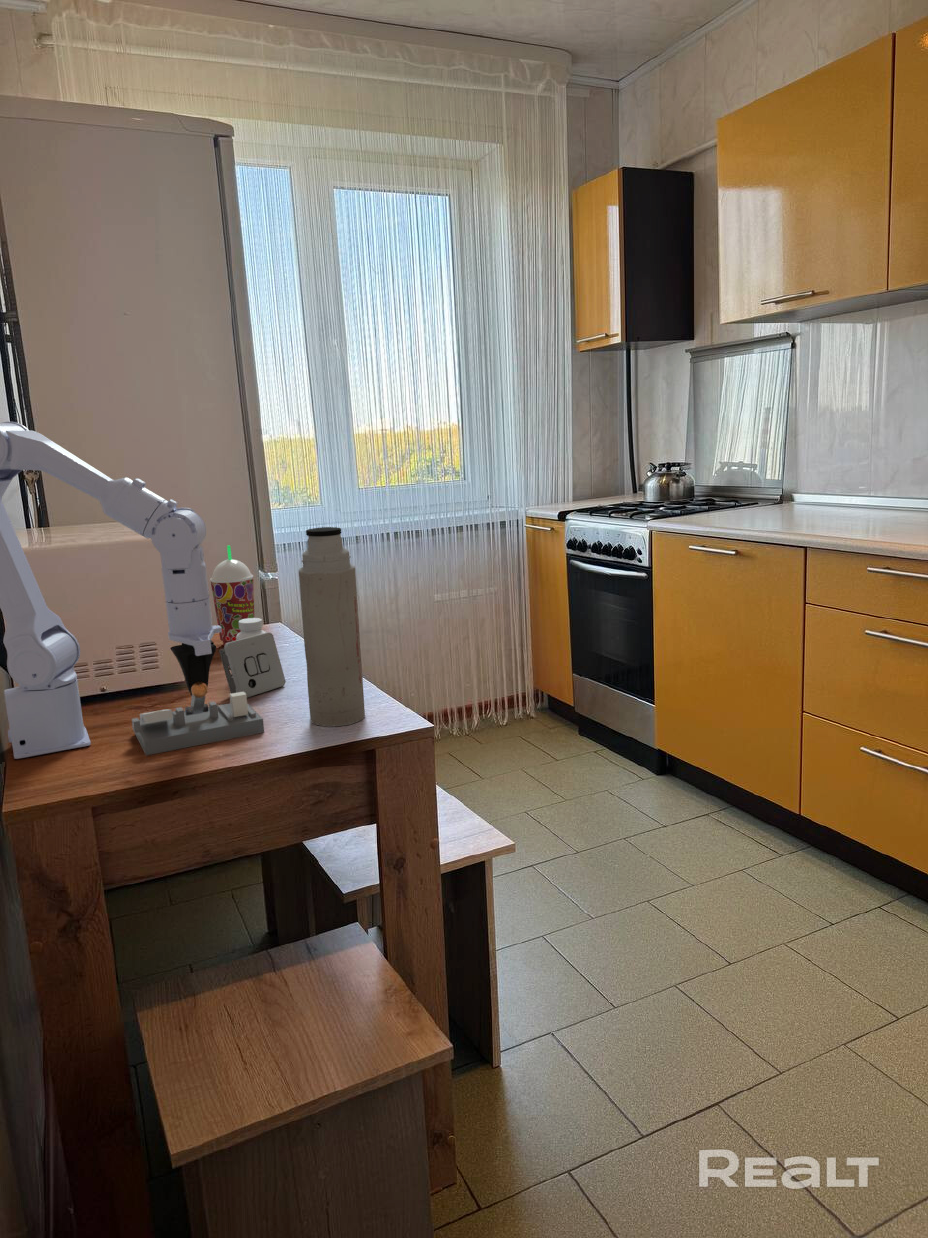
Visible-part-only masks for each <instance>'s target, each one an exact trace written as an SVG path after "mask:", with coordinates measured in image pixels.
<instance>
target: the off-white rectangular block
mask: <svg viewBox="0 0 928 1238" xmlns="http://www.w3.org/2000/svg"><path fill="white" fill-rule="evenodd" d="M229 703H230V705H231V714H232V715H233V716H234V717H237V716H243V715H248V707H247V703H248V697H246V694H245V693H244V692H238V693H232V694H231V693H229Z"/></svg>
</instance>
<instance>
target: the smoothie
mask: <svg viewBox="0 0 928 1238" xmlns="http://www.w3.org/2000/svg"><path fill="white" fill-rule="evenodd" d="M226 547H227V548H226V549H227V559H224V560H223V561H221V562H219V563H218V564H217V565H216V566H215V568H214V569H213V571H212V575H211V576H210V578H209V580H210V585H211V586H210V587H211V591H212V598H213V599H212V600H213V604H214V609H215V616H216V622H217V623H216V624H217V625H219V626H221V627H222V632H220V633H218V634H219V635H218V636H219V639H220V641H221V642H222V644H223V646H225V644H226V643H228V642H232V641H236V636H237V634H238V633H240V632H241V630H240V629H239V621H240V620H242V619H247V618H256V616H255V591H254V590H255V588H254V584H255V582H254V574H252V572H251V570H250V569H249V567H248V566H247V564H245V563H244V562H242V561H241V560H239V559H238V560H237V559H234V558H233V557H232V550H231V545H227V546H226Z"/></svg>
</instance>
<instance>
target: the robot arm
mask: <svg viewBox="0 0 928 1238" xmlns="http://www.w3.org/2000/svg"><path fill="white" fill-rule="evenodd" d="M22 471H40V472H41V471H42V472H44V473H46V474H48V475H50V476H52V477H54V478H55V479H57V480H59V481H62V482H63V483H65V484H67V485H69V486H71V487H73V488H75V489H77V490H78V491H81V492H82V493H84V494H86V495H88V496H90V497H92V498H93V499H96V500H98V501H99V503H100V506H101V509H102V511H103V513H104V515H106V516H107V517H109V518H111V519H112V520H114V521H116V522H117V523H119V524H121V525H122V526H125V527H126V528H128V529H130V530H131V531H133V532H135V533H137V534H138V535H140V536H141V537H144V538H145V539H151V540H150V541H151V543H152V545H153V547H154V548H155V549H156V550H157V551H158V553H160V554H159V555H160V561H161V562H160V563H161V575H162V584H163V590H164V598H165V607H166V615H167V616H166V617H167V623H168V632H167V635H168V636H167V637H168V639H169V640H170V641H171V642H176V643H181V644H177V645H173V646H171V647H170V650H171V652H172V654H173V655H174V657H175V658H176V660H177V662H178V663H179V666H180V668H181V671H182V674H183V677H184V680H185V684H186V687H187V689H188V692H189V694H190V696H191V697H192V692H191V688H192V686H193V684H195V683H196V682H203V683H205V684H206V685H207V687H208V686H209V677H210V671H211V670H210V669H211V664H212V661H213V658H214V655H215V654H216V652H217V651H216V650H217V646H216V645H215V643H214V641H213V640H212V639H213V637H214V635H215V634H219V633H220V632H222V627H221V626H219V625H218V624H215V625H213V618H212V610H211V608H212V607H211V602H210V593H209V584H208V582H209V581H208V572H207V565H206V563H205V555H204V547H203V545H202V544H203V542H204V540H205V538H206V535H207V528H206V527H207V526H206V524H205V521H204V520H203V518H202V516H200V515H199V514H198V513H197V512H196V511H195V510H194V509H193V508H190V507H177V506H178V504H179V503H178V502H177V501H175V500H174V499H169V500H166V498H164V497H162V496H160V495H158V494H156V493H155V492H154V491H151V490H150V489H148V488H147V487H146V485H147V483H146V481H143V480H142V479H140V478H134V479H133V480H132V479H131V478H129V477H121V478H118V479H117V478H116V479H113V478H111V477H110V476H107V475H106V474H105V473H103V472H101V471H100V470H98V469H97V468H95V467H93V466H92V465H90V464H89V463H87V462H86V461H85V460H83V459H81V458H79V457H78V456H76V455H74V454H73V453H71V452H70V451H69V450H67V449H65V448H64V447H62V446H60V445H59V444H57V443H56V442H54V441H53V440H51V439H50V438H48V437H47V436H45V435H43V434H42V433H41V432H40V433H39V432H38V431H34V430H29V428H28V427H26V426H25V425H23V424H21V423H18V422H16V421H3V422H0V610H1V612H2V615H3V617H4V620H5V621H6V625H5V627H6V628H5V632H4V635H3V640H2V641H3V642H2V643H3V644H4V645H3V646H4V647H5V649H6V654H7V658H6V659H7V660H6V666H7V667H6V669H7V671H8V673H9V676H10V677H11V678H12V680H13V681H14V682H15V683H16V684H17V685H18V686H15V687H12V688H7V689H4V690H3V694H4V701H5V702H4V703H5V707H6V716H7V719H8V720H7V721H8V727H9V729H7V730H6V731H7V735H8V737H7V738H8V741H9V744H10V743H11V745H12V751H13V758H14V759H15V760H18V759H24V758H29V757H35V756H41V755H45V754H51V753H56V752H62V751H66V750H71V749H77V748H82V747H87V746H90V745H91V743H92V742H91V739H90V736H89V734H88V730H87V728H86V727H85V725H84V719H83V712H82V703H81V696H80V691H79V683H78V682H79V681H78V675H77V672H76V671H75V665H76V664H77V663H78V661H79V659H80V656H81V646H80V643H79V641H78V640H77V638H76V637H75V635H74V634H72V632H70V631H69V630H68V629H67V627H66V626H65V625H64V623H63V620H62V618H61V616H59V615H57V613H55V612H54V611H52V610H51V609H50V608H49V607H48V605H47V603H46V601H45V600H46V599H45V598H44V596H43V593H42V592H41V588H40V587H39V584H38V582H37V580H36V577H35V574H34V573H33V570H32V568H31V565H30V563H29V561H28V559H27V558H28V557H27V556H26V553H25V552H24V550H23V547H22V545H21V542H20V540H19V537H18V536H17V535H18V534H17V533H16V531H15V528H14V526H13V524H12V522H11V519H10V517H9V514H8V512H7V510H6V508H5V505H4V503H3V500H2V498H3V496H4V494H5V493H6V491H7V489H8V487H9V486H10V483H11V482H12V480H13V479H14V478H15V477H16V476H17V475H18V474H20V473H21V472H22Z"/></svg>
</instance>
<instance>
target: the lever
mask: <svg viewBox="0 0 928 1238" xmlns="http://www.w3.org/2000/svg"><path fill="white" fill-rule="evenodd" d="M191 692H192V696H191V701H190V706H185V707H184V711H185V713H186V716H188V715H194V714H200V713H204V712H208V707H209V704H208V703H205V702H206V696H207V694H208V692H209V688H208V687H207V685H206V684H205V683H203V682H196V683H195V684H193V686H192V688H191Z"/></svg>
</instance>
